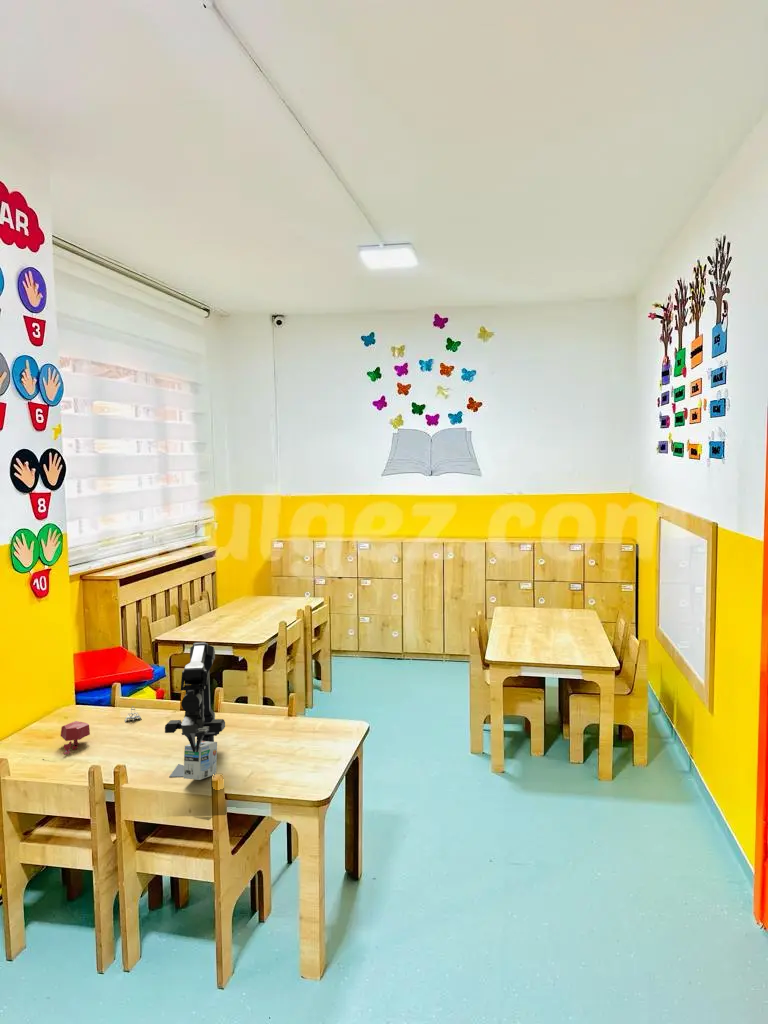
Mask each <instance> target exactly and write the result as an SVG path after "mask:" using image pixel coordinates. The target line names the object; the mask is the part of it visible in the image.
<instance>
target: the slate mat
mask: <svg viewBox="0 0 768 1024" xmlns="http://www.w3.org/2000/svg"><path fill="white" fill-rule="evenodd" d="M169 778H184V764H180V763H178V764H177V765H176V766H175V768H174V769H173V771H172V772H171V774H170V775H169Z"/></svg>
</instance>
